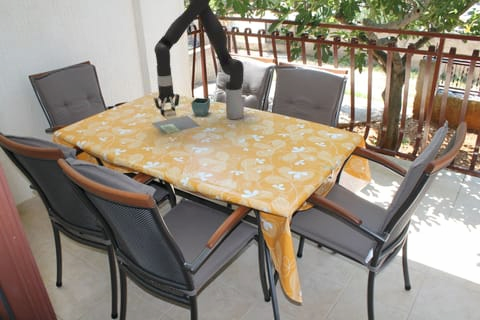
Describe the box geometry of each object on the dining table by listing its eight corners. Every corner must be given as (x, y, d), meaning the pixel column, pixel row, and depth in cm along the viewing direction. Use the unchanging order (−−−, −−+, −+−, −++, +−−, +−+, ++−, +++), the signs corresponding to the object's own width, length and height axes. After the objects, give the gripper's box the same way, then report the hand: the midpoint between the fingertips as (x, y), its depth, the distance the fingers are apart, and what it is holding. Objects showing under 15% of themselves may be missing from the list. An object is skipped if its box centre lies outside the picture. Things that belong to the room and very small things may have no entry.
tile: (176, 117, 213) (175, 112, 211) (167, 119, 210) (166, 114, 209) (169, 112, 220) (168, 107, 219) (160, 113, 218) (160, 108, 217)
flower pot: (191, 117, 236) (190, 102, 232) (197, 112, 243) (196, 97, 239) (205, 118, 233) (204, 103, 229) (211, 113, 241) (210, 98, 237)
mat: (187, 116, 237) (187, 115, 236) (201, 126, 222) (201, 125, 222) (151, 124, 227) (150, 122, 227) (163, 135, 212) (162, 134, 212)
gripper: (154, 87, 201) (157, 119, 209) (181, 83, 208) (183, 114, 215) (149, 84, 207) (153, 115, 215) (175, 79, 214) (178, 110, 221)
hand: (168, 114), depth 215 cm, fingers closed on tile, 5 cm apart
